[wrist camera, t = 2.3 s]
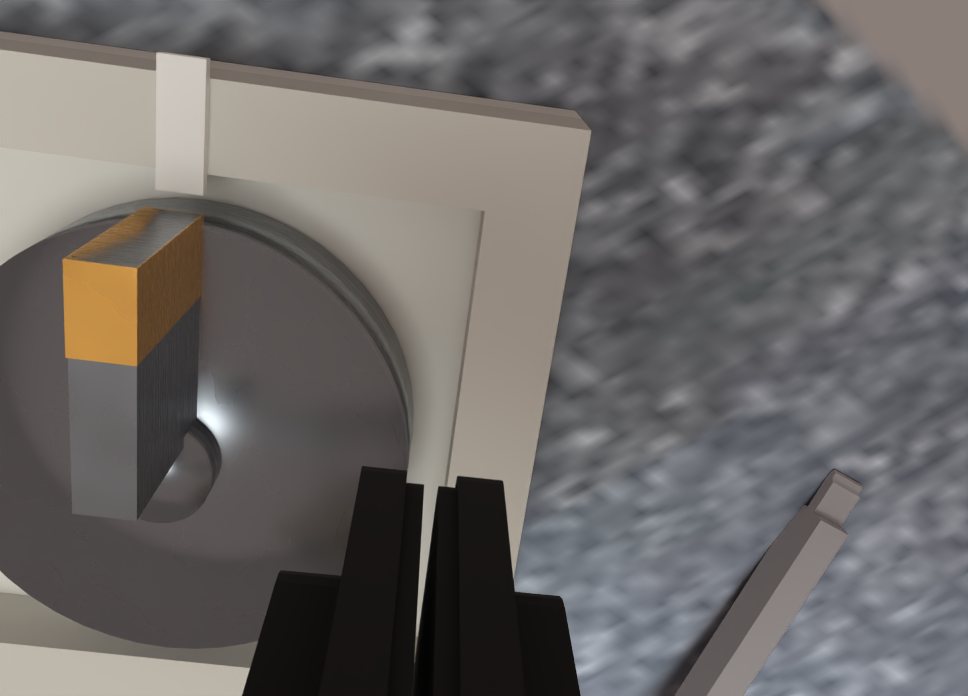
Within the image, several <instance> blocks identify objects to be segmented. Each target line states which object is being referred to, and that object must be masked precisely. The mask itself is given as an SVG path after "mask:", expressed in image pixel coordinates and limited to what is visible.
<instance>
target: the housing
mask: <svg viewBox="0 0 968 696" xmlns="http://www.w3.org/2000/svg"><path fill="white" fill-rule="evenodd" d="M590 137H591V129H590V128H589V127H588V126H587V125H586V123H585V122H584V121H583V120H582V119H581V117H580V116H579V115H578V114H577V113H576V111H573V110H566V109H559V108H552V107H545V106H537V105H530V104H523V103H516V102H508V101H501V100H494V99H487V98H480V97H472V96H465V95H458V94H451V93H443V92H436V91H429V90H422V89H415V88H407V87H400V86H393V85H386V84H378V83H371V82H364V81H357V80H350V79H342V78H335V77H328V76H321V75H313V74H306V73H299V72H292V71H285V70H277V69H270V68H263V67H256V66H248V65H241V64H234V63H227V62H219V61H212V60H210V58H205V57H198V56H191V55H183V54H176V53H169V52H162V51H161V52H156V53H154V52H147V51H140V50H133V49H126V48H118V47H111V46H104V45H97V44H89V43H82V42H75V41H68V40H61V39H53V38H46V37H39V36H32V35H24V34H17V33H10V32H3V31H0V266H1V265H2V264H3V263H5V262H6V261H7V260H9V259H10V258H12V257H13V256H15V255H16V254H18V253H20V252H22V251H23V250H25V249H27V248H28V247H30V246H32V245H34V244H35V243H37V242H39V241H41V240H42V239H44V238H46V237H48V236H49V235H51V234H53V233H55V232H56V231H58V230H60V229H62V228H63V227H65V226H67V225H69V224H71V223H73V222H75V221H77V220H79V219H81V218H83V217H85V216H86V215H89V214H92V213H94V212H97V211H100V210H103V209H106V208H109V207H112V206H114V205H119V204H124V203H129V202H134V201H139V200H144V199H159V198H189V199H205V200H210V201H215V202H221V203H226V204H231V205H236V206H239V207H242V208H245V209H248V210H251V211H254V212H257V213H261V214H264V215H266V216H269V217H271V218H273V219H275V220H277V221H279V222H281V223H283V224H286V225H288V226H290V227H292V228H294V229H296V230H297V231H299V232H300V233H302V234H304V235H305V236H307V237H308V238H310V239H312V240H313V241H315V242H316V243H318V244H320V245H321V246H322V247H323V248H325V249H326V250H327V251H328V252H330V253H331V254H332V255H333V256H335V257H336V258H337V259H338V260H339V261H341V262H342V263H343V264H344V265H345V266H346V267H347V268H348V269H349V270H350V271H351V272H352V273H353V274H354V275H355V276H356V277H357V278H358V279H359V280H360V281H361V282H362V284H363V285H364V286H365V287H366V288H367V290H368V291H369V292H370V294H371V295H372V296H373V298H374V299H375V301H376V302H377V303H378V305H379V306H380V307H381V309H382V310H383V312H384V314H385V316H386V318H387V319H388V321H389V323H390V325H391V327H392V328H393V330H394V332H395V334H396V337H397V339H398V342H399V344H400V347H401V349H402V352H403V354H404V357H405V360H406V364H407V368H408V372H409V376H410V381H411V385H412V396H413V406H414V418H413V436H412V443H411V450H410V457H409V464H408V472H407V481H406V483H415V484H424V498H423V515H422V533H421V551H420V569H419V587H418V604H417V622H416V640H415V654H416V647H417V639H418V632H419V624H420V617H421V609H422V602H423V594H424V587H425V579H426V572H427V564H428V557H429V550H430V542H431V535H432V527H433V520H434V512H435V505H436V497H437V491H438V486H445V487H454V488H455V484H456V479H457V476H466V477H475V478H485V479H495V480H502V481H503V483H504V492H505V502H506V511H507V521H508V531H509V541H510V551H511V560H512V570H513V579H514V574H515V568H516V562H517V556H518V551H519V545H520V539H521V533H522V528H523V522H524V516H525V510H526V505H527V499H528V493H529V487H530V482H531V476H532V470H533V464H534V459H535V453H536V447H537V441H538V436H539V430H540V424H541V418H542V413H543V407H544V401H545V395H546V390H547V384H548V378H549V372H550V367H551V361H552V355H553V349H554V344H555V338H556V332H557V327H558V321H559V315H560V309H561V304H562V298H563V292H564V286H565V281H566V275H567V269H568V263H569V258H570V252H571V246H572V240H573V235H574V229H575V223H576V217H577V212H578V206H579V200H580V194H581V189H582V183H583V177H584V171H585V166H586V160H587V154H588V148H589V143H590ZM257 643H258V641H255V642H252V643H246V644H240V645H234V646H228V647H220V648H202V649H189V648H169V647H161V646H155V645H148V644H142V643H136V642H133V641H129V640H125V639H121V638H117V637H114V636H110V635H107V634H104V633H102V632H99V631H96V630H94V629H91V628H88V627H86V626H83V625H81V624H79V623H77V622H75V621H73V620H71V619H69V618H67V617H65V616H63V615H61V614H59V613H57V612H55V611H53V610H52V609H50V608H48V607H47V606H45V605H44V604H42V603H41V602H39V601H37V600H36V599H34V598H33V597H31V596H30V595H28V594H27V593H26V592H25V591H23V590H22V589H21V588H20V587H18V586H17V585H16V584H14V583H13V582H12V581H11V580H9V579H8V578H7V577H6V576H5V575H4V574H3V573H2V572H1V571H0V696H242V694H243V690H244V687H245V683H246V680H247V677H248V673H249V670H250V666H251V663H252V660H253V656H254V653H255V650H256V646H257ZM414 662H415V658H414Z"/></svg>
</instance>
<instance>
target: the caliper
mask: <svg viewBox="0 0 968 696" xmlns="http://www.w3.org/2000/svg"><path fill="white" fill-rule="evenodd" d="M861 490H862V485H861V484H860V483H858V482H856V481H854V480H852V479H851V478H849V477H847V476H845V475H844V474H842V473H840V472H838V471H837V470H835V469H834V470H833V471H831V472H830V473H829V475H828V476H827V477H826V479H825V480H824V482H823V483H822V485H821V486H820V488H819V489H818V491H817V493H816V494H815V496H814V497H813V499H812V501H811V502H810V504H809V505H808V506H806V505H803V507H802V508H801V509H800V510H799V511H798V513H797V514H796V515H795V516H794V518H793V519H792V520H791V521H790V523H789V524H788V525H787V526H786V527H785V529H784V530H783V531H782V532H781V534H780V535H779V536H778V537H777V539H776V540H775V541H774V542H773V543H772V545H771V546H770V547H769V549H768V551H767V552H766V554H765V555H764V557H763V558H762V560H761V561H760V563H759V565H758V566H757V568H756V569H755V571H754V572H753V574H752V576H751V577H750V579H749V580H748V582H747V583H746V585H745V586H744V588H743V590H742V591H741V593H740V594H739V596H738V597H737V599H736V600H735V602H734V604H733V605H732V607H731V608H730V610H729V611H728V613H727V614H726V616H725V618H724V619H723V621H722V622H721V624H720V625H719V627H718V628H717V630H716V632H715V633H714V635H713V636H712V638H711V639H710V641H709V643H708V644H707V646H706V647H705V649H704V650H703V652H702V653H701V655H700V657H699V658H698V660H697V661H696V663H695V664H694V666H693V667H692V669H691V671H690V672H689V674H688V675H687V677H686V678H685V680H684V681H683V683H682V685H681V686H680V688H679V689H678V691H677V692H676V694H675V695H674V696H743V695H744V694H745V692H746V691H747V689H748V688H749V686H750V685H751V683H752V682H753V680H754V679H755V677H756V675H757V674H758V672H759V671H760V669H761V668H762V666H763V665H764V663H765V662H766V660H767V659H768V657H769V656H770V654H771V653H772V651H773V650H774V648H775V647H776V645H777V644H778V642H779V641H780V639H781V637H782V636H783V634H784V633H785V631H786V630H787V628H788V627H789V625H790V624H791V622H792V621H793V619H794V618H795V616H796V615H797V613H798V612H799V610H800V608H801V607H802V605H803V604H804V602H805V601H806V599H807V598H808V596H809V595H810V593H811V592H812V590H813V589H814V587H815V586H816V584H817V583H818V581H819V580H820V578H821V576H822V575H823V573H824V572H825V570H826V569H827V567H828V566H829V564H830V563H831V561H832V560H833V558H834V557H835V555H836V554H837V552H838V551H839V549H840V547H841V546H842V544H843V543H844V541H845V540H846V538H847V537H848V534H847V533H846V531H845V530H844V529H842V528H841V526H842V525H843V523H844V522H845V520H846V519H847V517H848V516H849V514H850V513H851V511H852V510H853V508H854V507H855V505H856V503H857V502H858V500H859V499H860V494H859V493H860V492H861Z"/></svg>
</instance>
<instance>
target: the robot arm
mask: <svg viewBox="0 0 968 696" xmlns="http://www.w3.org/2000/svg"><path fill="white" fill-rule="evenodd" d="M406 481H407V470H398V469H388V468H378V467H368V466H362V468H361V473H360V479H359V484H358V489H357V495H356V500H355V505H354V511H353V516H352V521H351V527H350V532H349V537H348V543H347V548H346V553H345V559H344V564H343V569H342V575H341V576H339V575H328V574H317V573H307V572H296V571H285V570H281V571H280V572H279V573H278V576H277V579H276V582H275V585H274V588H273V592H272V595H271V599H270V602H269V605H268V609H267V612H266V616H265V619H264V622H263V626H262V629H261V633H260V636H259V639H258V643H257V646H256V650H255V653H254V656H253V660H252V663H251V666H250V670H249V673H248V677H247V680H246V683H245V687H244V690H243V694H242V696H580V690H579V685H578V679H577V673H576V668H575V662H574V657H573V651H572V646H571V640H570V634H569V629H568V623H567V618H566V612H565V607H564V603H563V600H562V598H561V597H560V596H553V595H542V594H531V593H521V592H515V590H514V580H513V570H512V560H511V551H510V541H509V531H508V521H507V511H506V502H505V492H504V483H503V481H502V480H495V479H485V478H475V477H466V476H457V479H456V484H455V488H454V487H445V486H438V491H437V497H436V505H435V512H434V520H433V527H432V535H431V542H430V550H429V557H428V564H427V572H426V579H425V587H424V594H423V602H422V609H421V617H420V624H419V632H418V639H417V647H416V654H415V640H416V622H417V604H418V587H419V569H420V551H421V533H422V515H423V498H424V484H415V483H406ZM414 658H415V662H414Z"/></svg>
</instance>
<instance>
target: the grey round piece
mask: <svg viewBox="0 0 968 696" xmlns="http://www.w3.org/2000/svg"><path fill="white" fill-rule="evenodd" d="M413 418H414V406H413V396H412V385H411V381H410V376H409V372H408V368H407V364H406V360H405V357H404V354H403V352H402V349H401V347H400V344H399V342H398V339H397V337H396V334H395V332H394V330H393V328H392V327H391V325H390V323H389V321H388V319H387V318H386V316H385V314H384V312H383V310H382V309H381V307H380V306H379V305H378V303H377V302H376V301H375V299H374V298H373V296H372V295H371V294H370V292H369V291H368V290H367V288H366V287H365V286H364V285H363V284H362V282H361V281H360V280H359V279H358V278H357V277H356V276H355V275H354V274H353V273H352V272H351V271H350V270H349V269H348V268H347V267H346V266H345V265H344V264H343V263H342V262H341V261H339V260H338V259H337V258H336V257H335V256H333V255H332V254H331V253H330V252H328V251H327V250H326V249H325V248H323V247H322V246H321V245H320V244H318V243H316V242H315V241H313V240H312V239H310V238H308V237H307V236H305V235H304V234H302V233H300V232H299V231H297V230H296V229H294V228H292V227H290V226H288V225H286V224H283V223H281V222H279V221H277V220H275V219H273V218H271V217H269V216H266V215H264V214H261V213H257V212H254V211H251V210H248V209H245V208H242V207H239V206H236V205H231V204H226V203H221V202H215V201H210V200H205V199H189V198H159V199H144V200H139V201H134V202H129V203H124V204H119V205H114V206H112V207H109V208H106V209H103V210H100V211H97V212H94V213H92V214H89V215H86V216H85V217H83V218H81V219H79V220H77V221H75V222H73V223H71V224H69V225H67V226H65V227H63V228H62V229H60V230H58V231H56V232H55V233H53V234H51V235H49V236H48V237H46V238H44V239H42V240H41V241H39V242H37V243H35V244H34V245H32V246H30V247H28V248H27V249H25V250H23V251H22V252H20V253H18V254H16V255H15V256H13V257H12V258H10V259H9V260H7V261H6V262H5V263H3V264H2V265H1V266H0V571H1V572H2V573H3V574H4V575H5V576H6V577H7V578H8V579H9V580H11V581H12V582H13V583H14V584H16V585H17V586H18V587H20V588H21V589H22V590H23V591H25V592H26V593H27V594H28V595H30V596H31V597H33V598H34V599H36V600H37V601H39V602H41V603H42V604H44V605H45V606H47V607H48V608H50V609H52V610H53V611H55V612H57V613H59V614H61V615H63V616H65V617H67V618H69V619H71V620H73V621H75V622H77V623H79V624H81V625H83V626H86V627H88V628H91V629H94V630H96V631H99V632H102V633H104V634H107V635H110V636H114V637H117V638H121V639H125V640H129V641H133V642H136V643H142V644H148V645H155V646H161V647H169V648H189V649H202V648H220V647H228V646H234V645H240V644H246V643H252V642H255V641H258V639H259V636H260V633H261V629H262V626H263V622H264V619H265V616H266V612H267V609H268V605H269V602H270V599H271V595H272V592H273V588H274V585H275V582H276V579H277V576H278V573H279V572H280V571H281V570H285V571H296V572H307V573H317V574H328V575H339V576H341V575H342V569H343V564H344V559H345V553H346V548H347V543H348V537H349V532H350V527H351V521H352V516H353V511H354V505H355V500H356V495H357V489H358V484H359V479H360V473H361V468H362V466H368V467H378V468H388V469H398V470H407V472H408V464H409V457H410V450H411V443H412V436H413Z"/></svg>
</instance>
